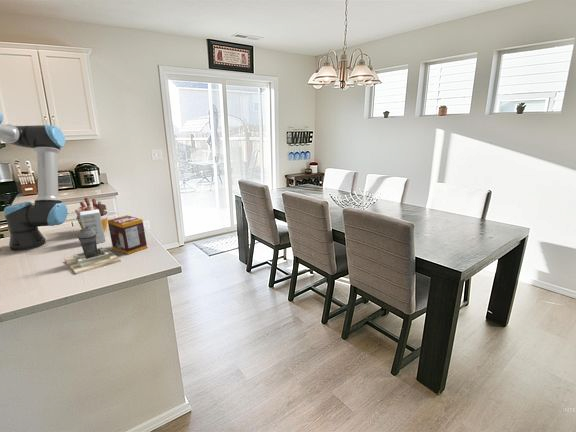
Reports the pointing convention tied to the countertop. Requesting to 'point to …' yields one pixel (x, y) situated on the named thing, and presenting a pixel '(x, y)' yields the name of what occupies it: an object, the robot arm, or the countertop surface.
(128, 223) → the supplement box
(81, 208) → the bucket of meat
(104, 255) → the cup holder
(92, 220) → the supplement box
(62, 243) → the countertop surface
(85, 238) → the beverage cup
